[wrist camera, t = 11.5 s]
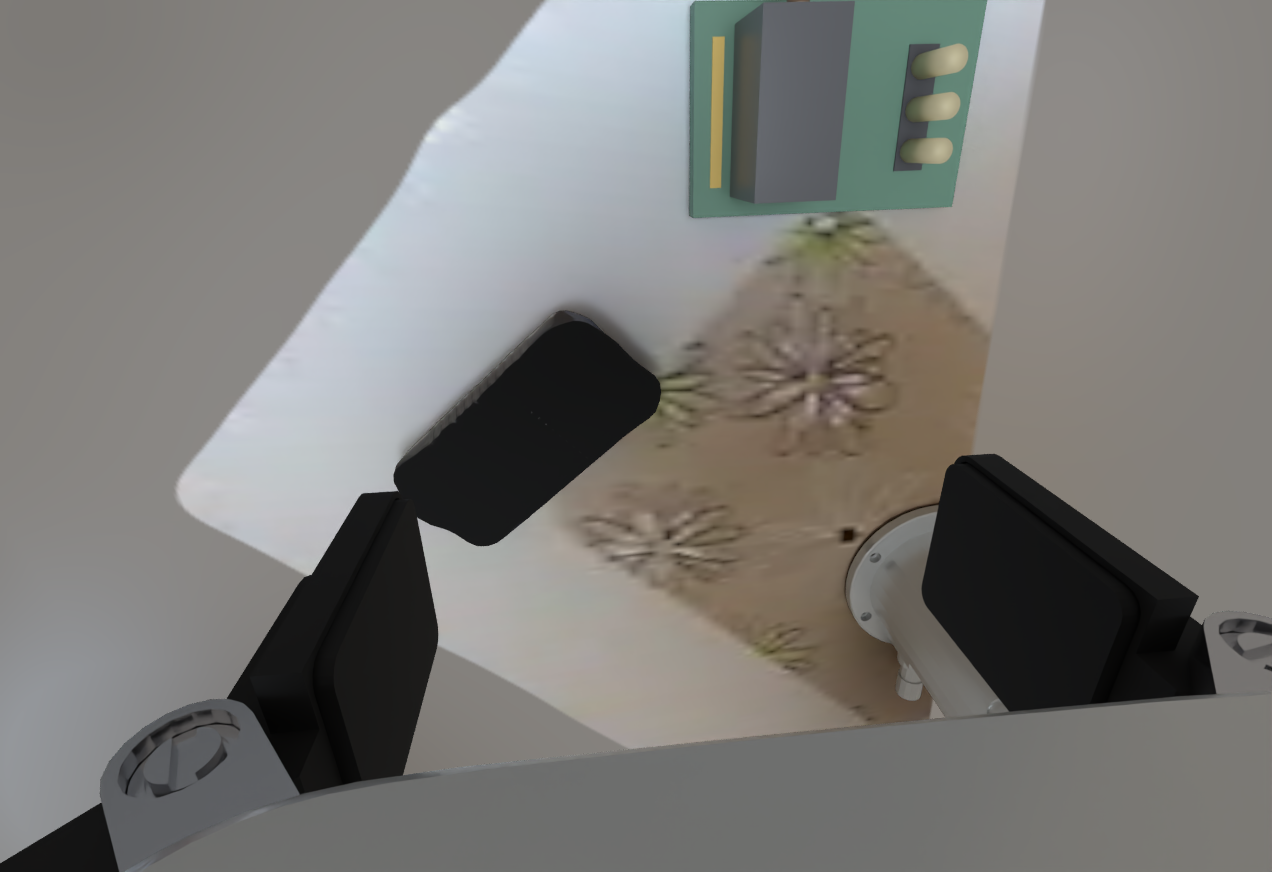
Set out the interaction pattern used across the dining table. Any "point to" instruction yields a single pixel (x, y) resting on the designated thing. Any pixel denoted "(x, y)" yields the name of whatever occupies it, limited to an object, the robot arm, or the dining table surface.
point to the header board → (852, 106)
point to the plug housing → (789, 100)
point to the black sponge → (527, 430)
